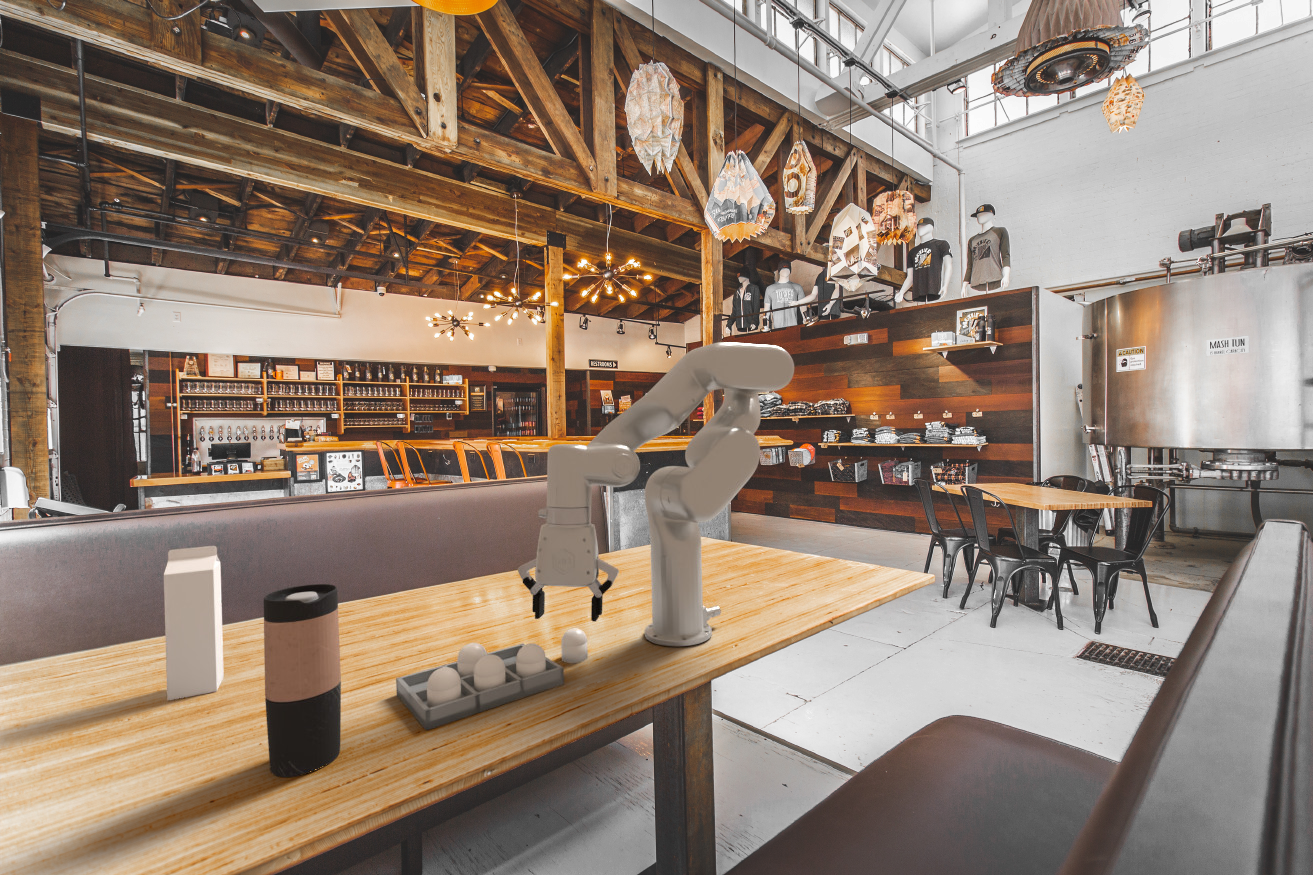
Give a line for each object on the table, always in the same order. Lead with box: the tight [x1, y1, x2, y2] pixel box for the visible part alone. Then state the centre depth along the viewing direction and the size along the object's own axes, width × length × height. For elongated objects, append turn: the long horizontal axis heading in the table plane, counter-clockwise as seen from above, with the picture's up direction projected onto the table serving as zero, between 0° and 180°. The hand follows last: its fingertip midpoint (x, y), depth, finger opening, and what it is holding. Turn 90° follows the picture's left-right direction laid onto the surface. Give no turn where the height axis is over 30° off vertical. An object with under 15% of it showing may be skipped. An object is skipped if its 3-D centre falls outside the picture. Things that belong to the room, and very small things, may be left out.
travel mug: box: [263, 583, 342, 778], centre depth 68 cm, size 8×8×20 cm
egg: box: [560, 627, 589, 664], centre depth 97 cm, size 4×4×5 cm
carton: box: [395, 642, 565, 731], centre depth 85 cm, size 20×14×6 cm
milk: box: [163, 545, 225, 701], centre depth 88 cm, size 6×6×22 cm
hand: (567, 617), depth 96 cm, fingers open, 9 cm apart
